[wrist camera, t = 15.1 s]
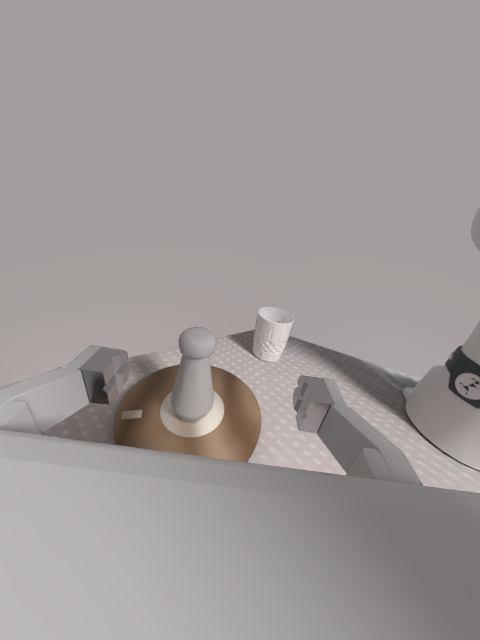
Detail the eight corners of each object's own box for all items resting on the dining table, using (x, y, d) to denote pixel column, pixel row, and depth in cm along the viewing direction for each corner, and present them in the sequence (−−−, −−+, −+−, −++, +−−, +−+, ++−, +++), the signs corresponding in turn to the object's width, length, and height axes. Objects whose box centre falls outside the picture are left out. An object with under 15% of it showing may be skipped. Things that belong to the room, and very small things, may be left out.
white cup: (257, 339, 55) (266, 303, 51) (287, 352, 53) (298, 314, 48) (243, 354, 49) (251, 314, 44) (276, 369, 46) (289, 328, 42)
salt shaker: (168, 398, 32) (169, 321, 26) (206, 392, 35) (215, 319, 29) (173, 434, 28) (176, 350, 22) (217, 423, 30) (230, 344, 24)
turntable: (239, 365, 44) (240, 360, 43) (282, 472, 27) (285, 466, 26) (128, 371, 37) (127, 365, 37) (93, 514, 21) (91, 507, 20)
